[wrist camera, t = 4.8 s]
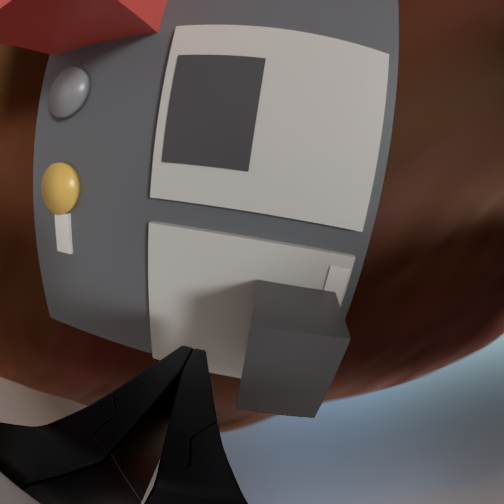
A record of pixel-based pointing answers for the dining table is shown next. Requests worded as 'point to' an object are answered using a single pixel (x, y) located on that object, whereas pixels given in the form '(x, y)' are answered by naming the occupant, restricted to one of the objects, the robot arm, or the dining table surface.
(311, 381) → the gray box
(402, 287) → the dining table surface
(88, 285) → the panel
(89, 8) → the cap
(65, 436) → the robot arm
